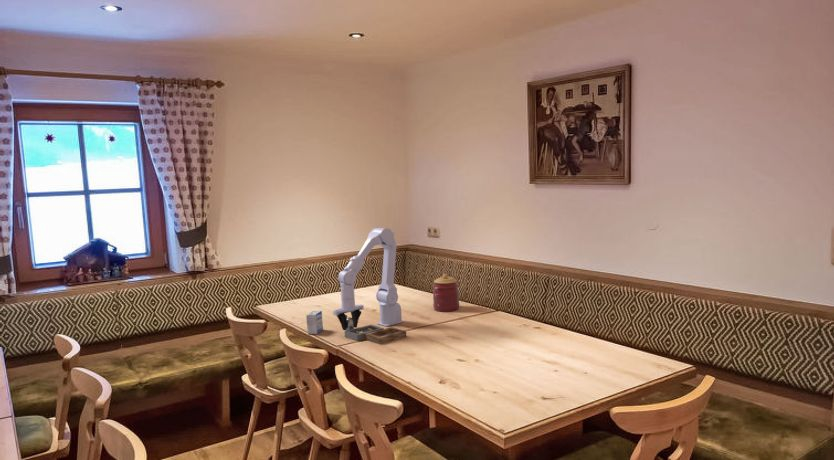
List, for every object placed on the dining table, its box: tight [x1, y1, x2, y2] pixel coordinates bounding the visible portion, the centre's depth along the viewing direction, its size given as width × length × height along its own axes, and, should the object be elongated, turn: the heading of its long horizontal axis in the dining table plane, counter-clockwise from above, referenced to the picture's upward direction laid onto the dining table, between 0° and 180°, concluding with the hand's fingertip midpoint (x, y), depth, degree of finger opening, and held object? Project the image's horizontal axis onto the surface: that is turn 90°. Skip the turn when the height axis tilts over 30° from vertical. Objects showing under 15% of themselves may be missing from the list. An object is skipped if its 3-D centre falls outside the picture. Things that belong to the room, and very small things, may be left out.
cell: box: [345, 316, 355, 331], centre depth 262 cm, size 4×4×6 cm
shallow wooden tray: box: [364, 326, 407, 345], centre depth 251 cm, size 14×10×2 cm
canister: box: [432, 273, 461, 313], centre depth 296 cm, size 13×13×18 cm
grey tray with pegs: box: [343, 324, 385, 342], centre depth 256 cm, size 14×9×3 cm
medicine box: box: [305, 310, 324, 335], centre depth 265 cm, size 8×4×9 cm, turn 168°
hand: (349, 328), depth 262 cm, fingers open, 5 cm apart
